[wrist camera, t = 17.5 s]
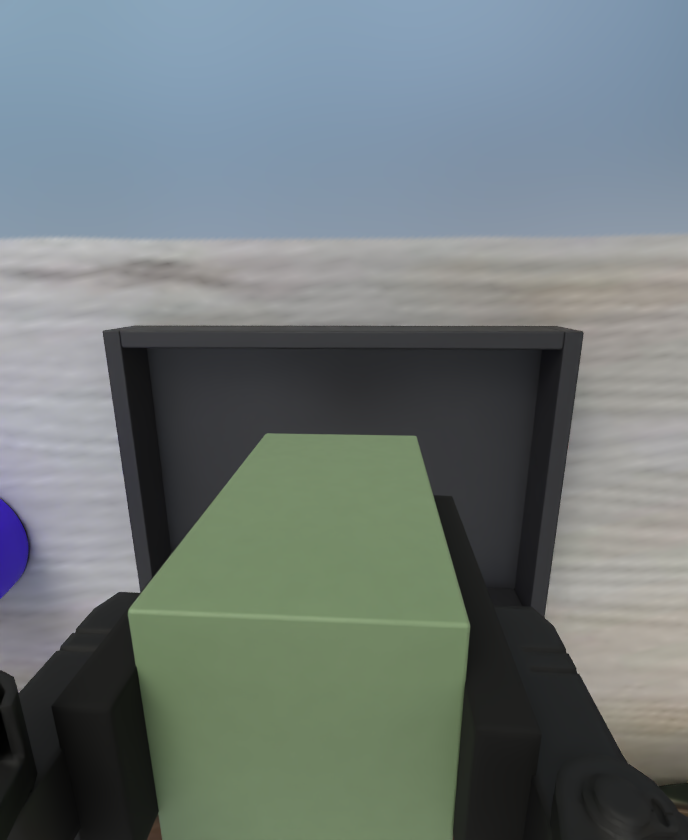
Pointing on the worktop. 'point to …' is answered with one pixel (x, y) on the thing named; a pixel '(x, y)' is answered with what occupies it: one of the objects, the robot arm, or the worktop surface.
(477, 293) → the worktop surface
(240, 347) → the pan
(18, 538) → the bottle
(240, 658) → the block
